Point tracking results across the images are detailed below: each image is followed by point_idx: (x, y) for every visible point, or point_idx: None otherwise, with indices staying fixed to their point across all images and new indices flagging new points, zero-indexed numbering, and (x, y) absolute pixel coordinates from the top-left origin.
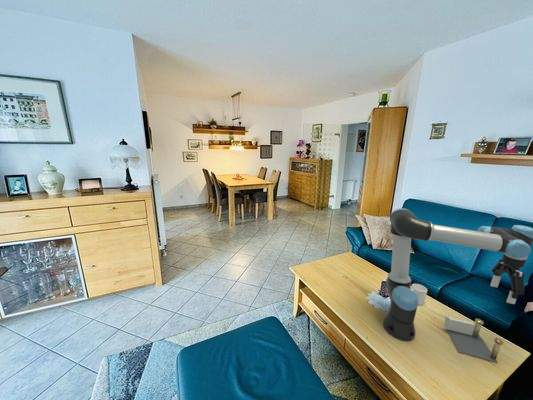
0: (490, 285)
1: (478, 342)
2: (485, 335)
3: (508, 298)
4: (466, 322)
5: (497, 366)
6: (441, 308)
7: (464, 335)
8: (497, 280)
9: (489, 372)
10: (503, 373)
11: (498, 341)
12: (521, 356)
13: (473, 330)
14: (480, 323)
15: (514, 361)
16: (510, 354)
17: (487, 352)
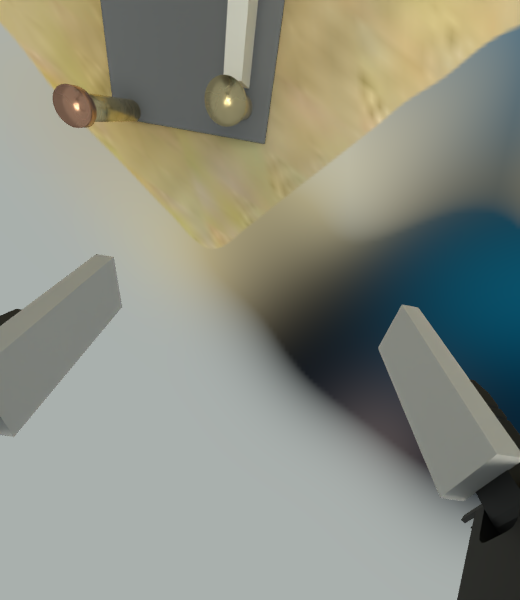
0: (415, 309)
1: None
2: (269, 177)
3: (65, 280)
4: (234, 21)
5: None
6: (458, 38)
7: None
8: (421, 409)
9: (40, 33)
10: None
11: (57, 94)
12: (194, 239)
13: None
14: (205, 94)
15: (159, 198)
16: (190, 208)
17: (155, 105)
